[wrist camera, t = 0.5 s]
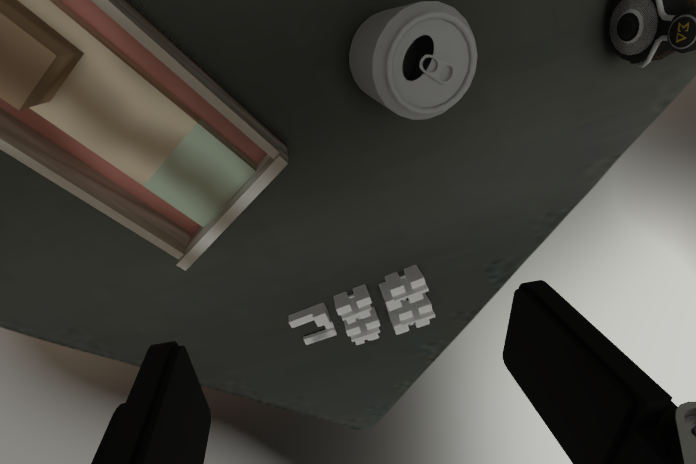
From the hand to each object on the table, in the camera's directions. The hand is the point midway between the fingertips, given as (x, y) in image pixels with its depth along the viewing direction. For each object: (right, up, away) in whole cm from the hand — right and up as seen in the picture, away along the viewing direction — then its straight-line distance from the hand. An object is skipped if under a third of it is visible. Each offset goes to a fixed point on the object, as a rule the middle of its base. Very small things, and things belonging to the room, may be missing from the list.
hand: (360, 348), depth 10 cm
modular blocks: (+1, -6, +38) cm, 38 cm away
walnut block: (-24, +17, +17) cm, 34 cm away
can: (+3, +20, +24) cm, 31 cm away
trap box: (-20, +14, +22) cm, 33 cm away
